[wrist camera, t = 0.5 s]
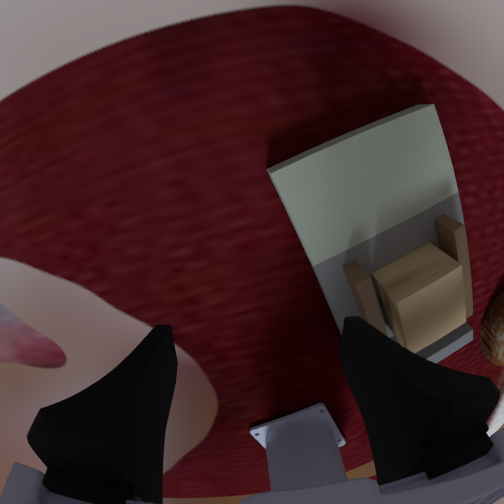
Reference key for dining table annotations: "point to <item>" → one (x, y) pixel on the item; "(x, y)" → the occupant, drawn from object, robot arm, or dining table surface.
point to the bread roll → (494, 332)
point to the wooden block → (421, 296)
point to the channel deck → (377, 212)
